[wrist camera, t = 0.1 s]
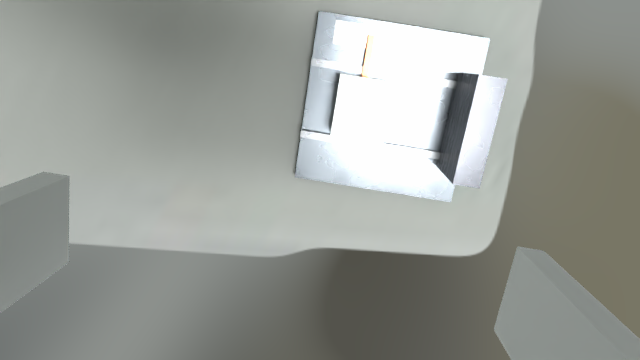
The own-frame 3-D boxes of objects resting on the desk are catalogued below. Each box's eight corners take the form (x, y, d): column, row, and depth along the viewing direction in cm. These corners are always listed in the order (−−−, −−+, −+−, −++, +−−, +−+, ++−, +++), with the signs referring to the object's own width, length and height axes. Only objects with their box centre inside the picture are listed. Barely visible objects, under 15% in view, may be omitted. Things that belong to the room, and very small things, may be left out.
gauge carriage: (347, 30, 36) (348, 27, 32) (396, 38, 36) (403, 36, 32) (330, 132, 38) (329, 141, 34) (377, 140, 38) (381, 149, 34)
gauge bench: (319, 12, 38) (314, 1, 31) (485, 39, 38) (519, 34, 31) (296, 173, 41) (287, 196, 34) (447, 198, 41) (469, 226, 34)
